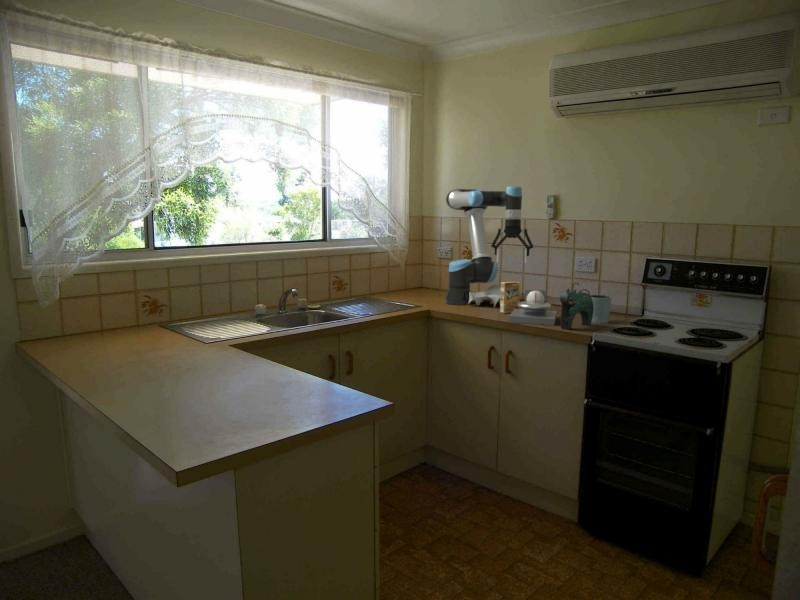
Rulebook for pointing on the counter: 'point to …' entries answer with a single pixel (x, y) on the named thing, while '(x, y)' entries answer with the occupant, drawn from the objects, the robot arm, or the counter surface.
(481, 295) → the white irregular piece
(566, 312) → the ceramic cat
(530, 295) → the kitchen scale
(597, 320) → the pale blue cup
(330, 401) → the counter surface
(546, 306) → the scale pan
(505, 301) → the candy box
